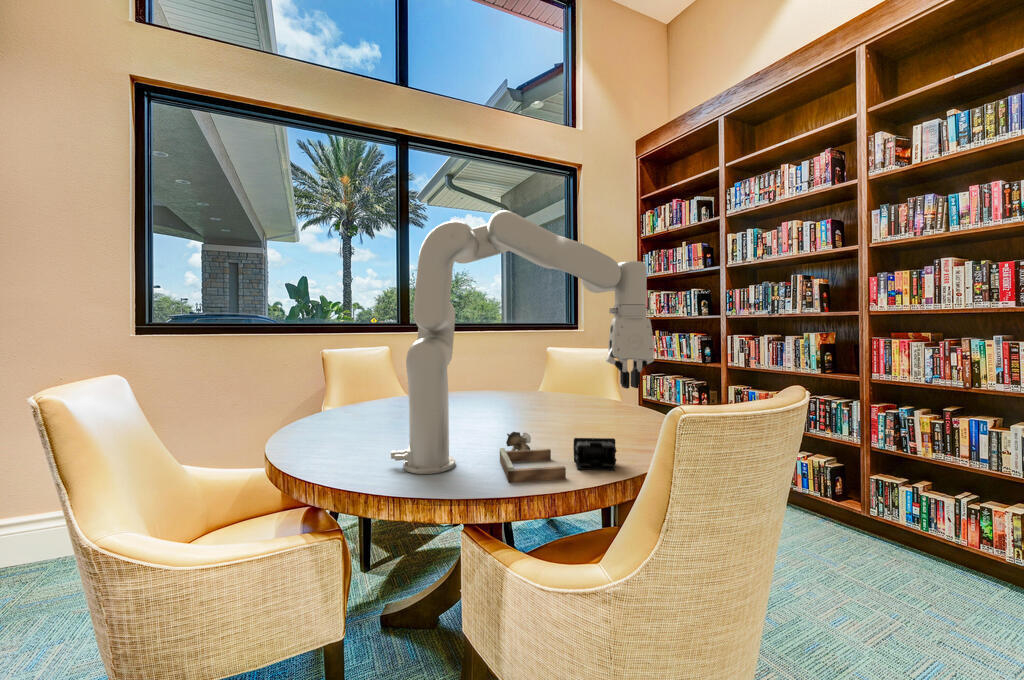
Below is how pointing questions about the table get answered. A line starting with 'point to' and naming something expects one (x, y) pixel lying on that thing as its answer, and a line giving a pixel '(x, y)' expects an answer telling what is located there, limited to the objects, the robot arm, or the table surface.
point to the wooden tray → (529, 473)
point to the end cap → (594, 454)
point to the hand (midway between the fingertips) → (630, 387)
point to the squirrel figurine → (518, 441)
